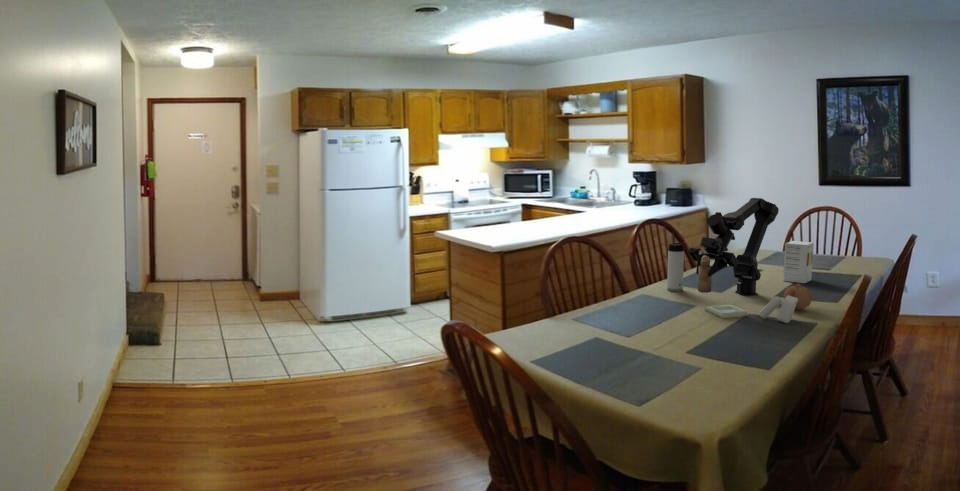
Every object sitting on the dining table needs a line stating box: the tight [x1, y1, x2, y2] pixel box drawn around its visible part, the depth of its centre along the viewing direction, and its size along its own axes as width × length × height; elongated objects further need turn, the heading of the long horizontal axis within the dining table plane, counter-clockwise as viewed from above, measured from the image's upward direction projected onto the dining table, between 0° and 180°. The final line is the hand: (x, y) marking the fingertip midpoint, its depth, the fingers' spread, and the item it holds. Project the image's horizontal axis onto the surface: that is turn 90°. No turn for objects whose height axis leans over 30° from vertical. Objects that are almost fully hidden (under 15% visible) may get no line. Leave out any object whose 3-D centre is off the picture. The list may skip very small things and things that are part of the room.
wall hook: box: [758, 295, 798, 324], centre depth 239 cm, size 8×10×10 cm
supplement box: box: [782, 240, 815, 284], centre depth 299 cm, size 10×9×17 cm
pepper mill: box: [697, 256, 713, 294], centre depth 258 cm, size 5×5×14 cm
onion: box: [783, 282, 813, 311], centre depth 251 cm, size 10×9×10 cm
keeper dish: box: [705, 304, 748, 319], centre depth 248 cm, size 10×10×2 cm
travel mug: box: [666, 241, 686, 293], centre depth 285 cm, size 6×7×20 cm
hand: (702, 274), depth 258 cm, fingers closed on pepper mill, 5 cm apart
